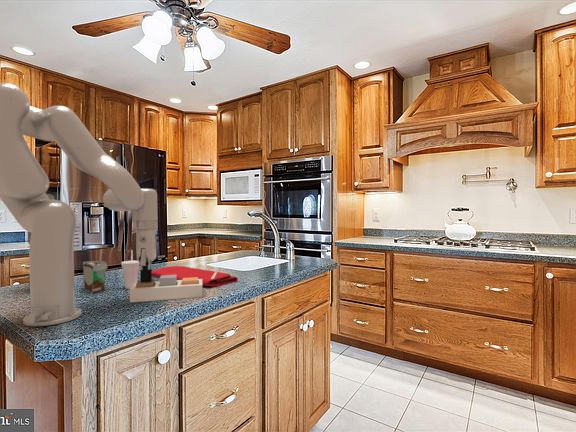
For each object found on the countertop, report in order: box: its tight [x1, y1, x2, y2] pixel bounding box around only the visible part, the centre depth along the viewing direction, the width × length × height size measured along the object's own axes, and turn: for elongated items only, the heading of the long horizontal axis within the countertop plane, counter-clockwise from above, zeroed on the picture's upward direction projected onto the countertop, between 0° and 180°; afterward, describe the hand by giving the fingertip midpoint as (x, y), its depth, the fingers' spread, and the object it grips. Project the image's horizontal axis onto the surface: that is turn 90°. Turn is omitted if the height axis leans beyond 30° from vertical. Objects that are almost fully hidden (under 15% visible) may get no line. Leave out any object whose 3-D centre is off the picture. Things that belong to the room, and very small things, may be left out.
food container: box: [82, 260, 108, 295], centre depth 117 cm, size 12×6×10 cm, turn 47°
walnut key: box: [136, 279, 156, 288], centre depth 107 cm, size 5×5×3 cm
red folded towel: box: [152, 265, 238, 288], centre depth 137 cm, size 16×41×4 cm, turn 52°
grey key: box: [159, 275, 177, 286], centre depth 109 cm, size 5×5×3 cm
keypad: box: [129, 279, 203, 303], centre depth 109 cm, size 10×22×4 cm, turn 105°
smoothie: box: [120, 249, 141, 290], centre depth 120 cm, size 6×6×14 cm
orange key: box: [182, 277, 198, 285], centre depth 111 cm, size 5×5×3 cm
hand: (146, 281), depth 107 cm, fingers closed
